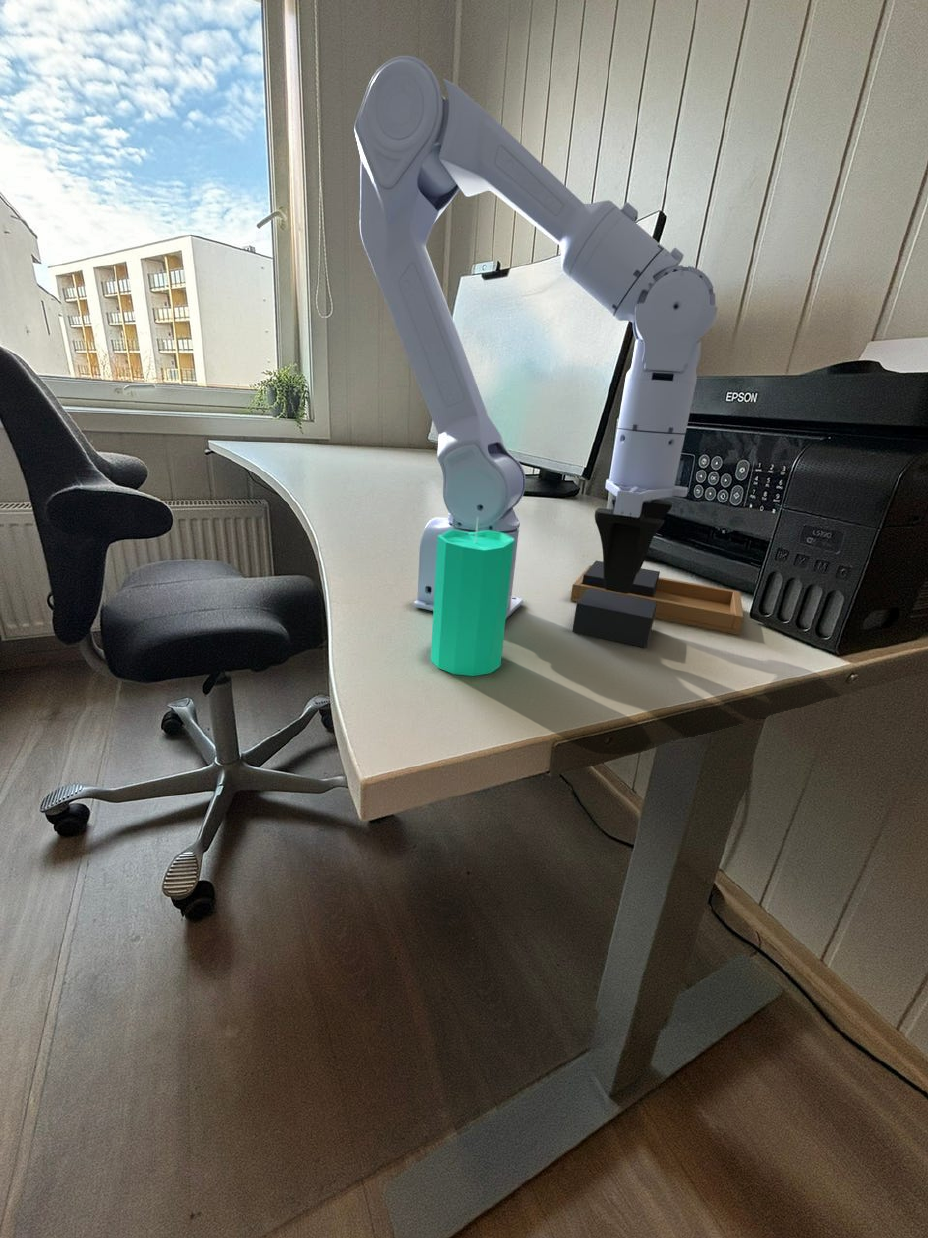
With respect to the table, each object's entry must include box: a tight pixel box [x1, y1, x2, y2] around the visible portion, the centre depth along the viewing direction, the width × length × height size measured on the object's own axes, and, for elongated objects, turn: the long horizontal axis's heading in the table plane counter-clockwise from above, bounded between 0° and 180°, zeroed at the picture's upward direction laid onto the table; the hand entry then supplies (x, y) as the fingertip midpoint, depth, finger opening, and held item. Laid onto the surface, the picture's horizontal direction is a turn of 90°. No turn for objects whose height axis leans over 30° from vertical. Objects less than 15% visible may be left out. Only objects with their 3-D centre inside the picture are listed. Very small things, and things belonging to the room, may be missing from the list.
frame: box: [569, 564, 745, 636], centre depth 63 cm, size 18×10×2 cm, turn 66°
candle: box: [430, 517, 514, 677], centre depth 44 cm, size 6×6×12 cm
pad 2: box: [572, 588, 657, 649], centre depth 54 cm, size 7×6×3 cm
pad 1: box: [582, 559, 661, 598], centre depth 64 cm, size 8×7×2 cm
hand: (622, 580), depth 53 cm, fingers open, 7 cm apart
